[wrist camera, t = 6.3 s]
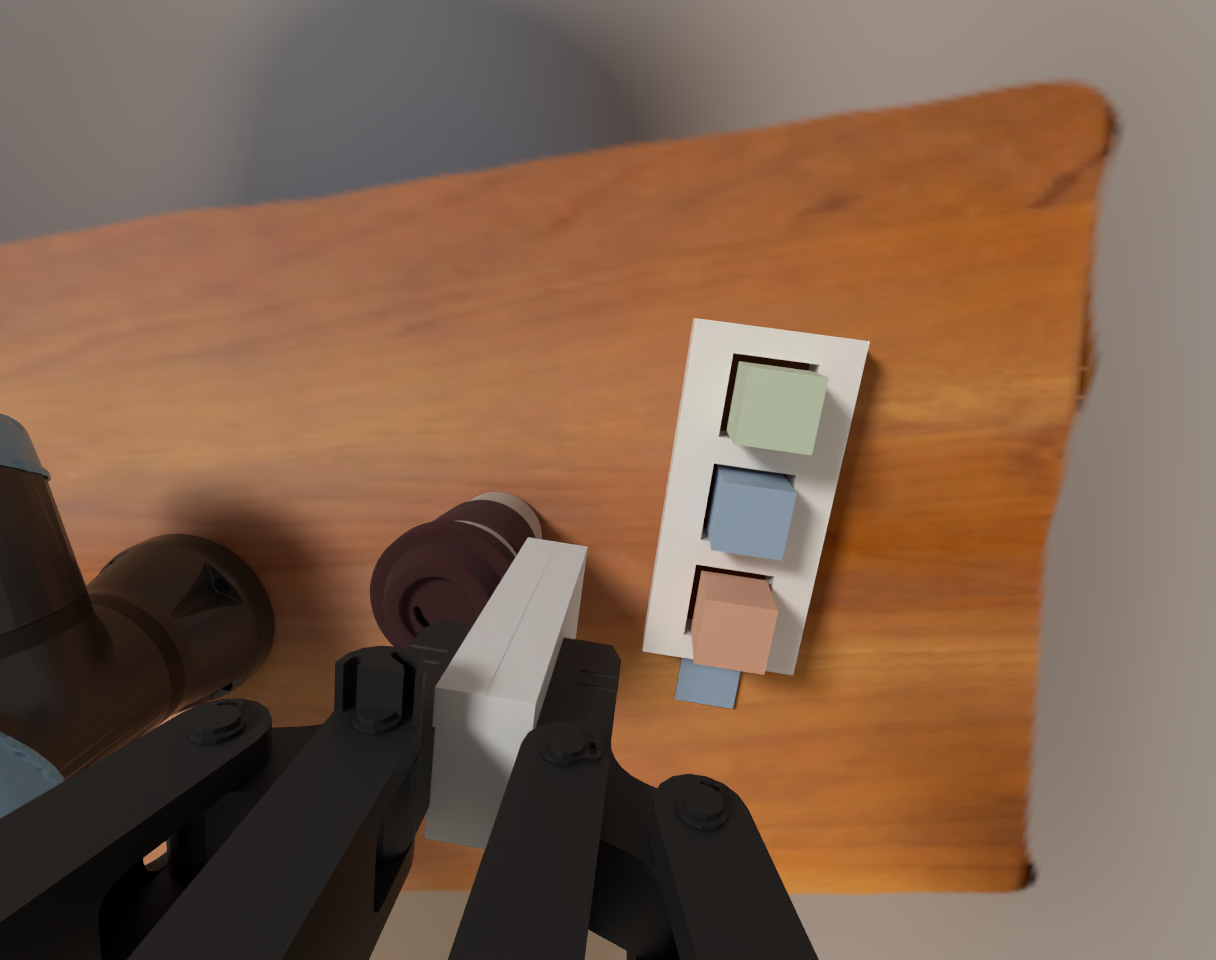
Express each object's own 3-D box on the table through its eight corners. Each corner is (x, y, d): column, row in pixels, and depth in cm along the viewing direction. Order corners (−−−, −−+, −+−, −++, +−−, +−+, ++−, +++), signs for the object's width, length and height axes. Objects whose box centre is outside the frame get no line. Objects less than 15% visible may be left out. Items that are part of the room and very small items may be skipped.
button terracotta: (690, 628, 50) (693, 663, 45) (701, 570, 49) (705, 599, 44) (754, 638, 50) (764, 674, 45) (766, 580, 48) (778, 610, 43)
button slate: (706, 526, 50) (711, 550, 45) (717, 465, 48) (723, 482, 43) (770, 536, 49) (782, 560, 44) (782, 474, 48) (796, 492, 43)
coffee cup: (563, 481, 51) (523, 547, 36) (554, 594, 53) (513, 698, 39) (443, 467, 51) (356, 526, 37) (439, 580, 54) (357, 676, 39)
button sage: (726, 430, 46) (733, 444, 41) (739, 361, 45) (748, 366, 40) (795, 440, 46) (811, 455, 41) (810, 370, 44) (828, 377, 39)
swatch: (674, 696, 55) (674, 699, 54) (683, 645, 53) (684, 647, 53) (732, 706, 54) (732, 708, 54) (743, 654, 53) (743, 656, 53)
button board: (643, 633, 53) (642, 651, 51) (693, 318, 47) (695, 318, 44) (785, 655, 53) (793, 675, 50) (856, 340, 46) (869, 341, 43)
